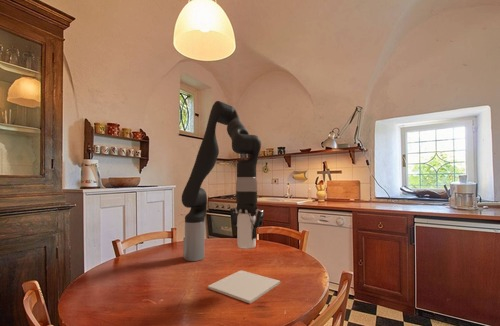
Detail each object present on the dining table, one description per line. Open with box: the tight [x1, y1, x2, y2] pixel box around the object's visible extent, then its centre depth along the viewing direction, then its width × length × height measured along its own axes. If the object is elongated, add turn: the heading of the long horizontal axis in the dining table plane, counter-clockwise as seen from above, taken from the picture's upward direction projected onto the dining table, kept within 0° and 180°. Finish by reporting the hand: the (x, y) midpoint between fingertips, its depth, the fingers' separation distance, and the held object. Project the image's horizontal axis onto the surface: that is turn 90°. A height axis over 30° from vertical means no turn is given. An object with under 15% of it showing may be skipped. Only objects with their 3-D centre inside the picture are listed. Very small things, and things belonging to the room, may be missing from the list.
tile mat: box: [207, 269, 281, 304], centre depth 86 cm, size 18×18×1 cm
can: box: [236, 212, 257, 250], centre depth 87 cm, size 6×6×12 cm
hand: (246, 238), depth 86 cm, fingers closed on can, 5 cm apart
